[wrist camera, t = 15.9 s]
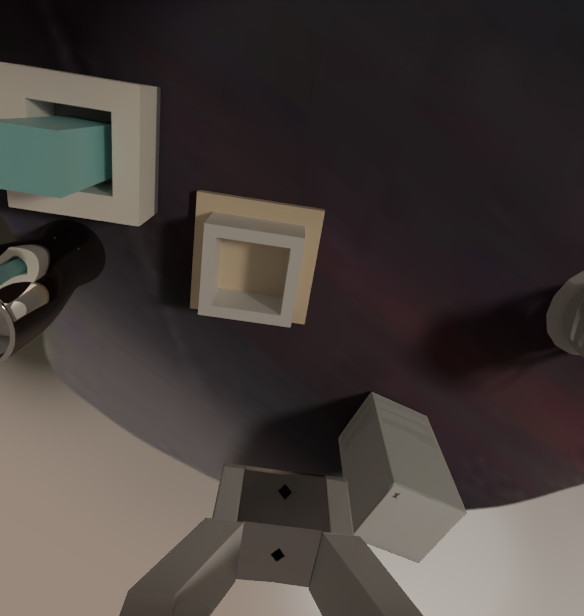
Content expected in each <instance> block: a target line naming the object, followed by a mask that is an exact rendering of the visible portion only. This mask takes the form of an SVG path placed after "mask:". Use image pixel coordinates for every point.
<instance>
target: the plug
mask: <svg viewBox="0 0 584 616" xmlns="http://www.w3.org/2000/svg"><path fill="white" fill-rule="evenodd" d="M110 178H112V122H106V121H100V120H94V119H88V118H81V117H75V116H69V115H65V116H47V117H28V118H10V119H0V189H4V190H10V191H17V192H23V193H30V194H36V195H43V196H49V197H56V198H63V197H65V196H68V195H70V194H73V193H75V192H78V191H80V190H83V189H85V188H88V187H90V186H93V185H95V184H98V183H100V182H103V181H105V180H108V179H110Z"/></svg>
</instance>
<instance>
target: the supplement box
mask: <svg viewBox="0 0 584 616" xmlns="http://www.w3.org/2000/svg"><path fill="white" fill-rule="evenodd" d="M338 441H339V448H340V457H341V465H342V472H343V478H345V479H346V480H347V486H348V493H349V501H350V509H351V516H352V524H353V532H354V536H360V537H361V538H362V539H363V541H364V542H365V543H367V544H370V545H372V546H375V547H378V548H380V549H383V550H386V551H388V552H391V553H394V554H396V555H399V556H402V557H404V558H407V559H409V560H412V561H415V562H417V563H419V562H420V561H421V560H422V559H423V558H424V557H425V556H426V555H427V554H428V553H429V552H430V551H431V550H432V549H433V547H434V546H435V545H436V544H437V543H438V542H439V541H440V540H441V539H442V538H443V537H444V536H445V535H446V534H447V532H448V531H449V530H450V529H451V528H452V527H453V526H454V525H455V524H456V523H457V522H458V521H459V520H460V519H461V518H462V517H463V516H464V515H465V514H466V510H465V508H464V505H463V503H462V500H461V498H460V496H459V493H458V491H457V488H456V486H455V484H454V481H453V479H452V476H451V474H450V471H449V469H448V467H447V464H446V462H445V459H444V457H443V455H442V452H441V450H440V447H439V445H438V442H437V440H436V438H435V435H434V433H433V430H432V428H431V426H430V423H429V421H428V418H427V416H425V415H423V414H421V413H419V412H416V411H414V410H412V409H410V408H407V407H405V406H403V405H401V404H398V403H396V402H394V401H392V400H389V399H387V398H385V397H383V396H380V395H378V394H376V393H374V392H371V393H370V394H369V395H368V397H367V398H366V399H365V401H364V402H363V404H362V405H361V407H360V408H359V409H358V411H357V412H356V413H355V415H354V416H353V417H352V419H351V420H350V422H349V423H348V424H347V426H346V427H345V429H344V430H343V432H342V433H341V435H340V436H339V438H338Z"/></svg>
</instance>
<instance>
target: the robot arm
mask: <svg viewBox="0 0 584 616" xmlns="http://www.w3.org/2000/svg"><path fill="white" fill-rule="evenodd" d="M244 471H245V473H244ZM243 478H244V480H243ZM236 579H243V580H255V581H267V582H272V581H273V582H276V583H283V584H290V585H297V586H304V587H309V591H310V593H311V595H312V597H313V598H314V600H315V602H316V604H317V606H318V608H319V610H320V612H321V614H322V616H423V615H422V614H421V612H420V611H419V610H418V609H417V607H416V606H415V605H414V604H413V602H412V601H411V600H410V599H409V597H408V596H407V595H406V594H405V592H404V591H403V590H402V589H401V587H400V586H399V585H398V583H397V582H396V581H395V580H394V579H393V577H392V576H391V575H390V573H389V572H388V571H387V570H386V568H385V567H384V566H383V565H382V563H381V562H380V561H379V560H378V559H377V557H376V556H375V555H374V553H373V552H372V551H371V549H370V548H369V547H368V546H367V544H366V543H365V542H364V541H363V539H362V538H361V537H360V536H354V532H353V524H352V516H351V509H350V501H349V493H348V486H347V480H346V479H345V478H342V477H333V476H324V475H315V474H307V473H298V472H289V471H280V470H273V469H266V468H260V467H253V466H246V467H245V466H243V465H237V464H230V463H225V464H224V466H223V470H222V474H221V479H220V484H219V489H218V493H217V498H216V503H215V507H214V512H213V517H212V519H211V518H205V519H204V520H203V521H202V522H201V523H200V524H199V525H198V526H197V527H196V528H195V529H194V530H193V531H192V532H191V533H189V534H188V535H187V536H186V537H185V538H184V539H183V540H182V541H181V542H180V543H179V544H178V545H177V546H175V547H174V548H173V549H172V550H171V551H170V552H169V553H168V554H167V555H166V556H165V557H164V558H163V559H162V560H161V561H159V562H158V564H157V565H155V566H154V567H153V568H152V569H151V570H150V571H149V572H148V573H147V574H146V575H145V576H144V577H142V578H141V579H140V580H139V581H138V582H137V583H136V584H135V585H134V586H133V587H132V588H131V589H130V590H129V591H128V593H127V596H126V599H125V601H124V604H123V607H122V610H121V613H120V615H119V616H210V615H211V613H212V612H213V611H214V609H215V608H216V607H217V605H218V604H219V603H220V601H221V600H222V599H223V597H224V596H225V595H226V593H227V592H228V591H229V589H230V588H231V587H232V585H233V584H234V582H235V580H236Z"/></svg>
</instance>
